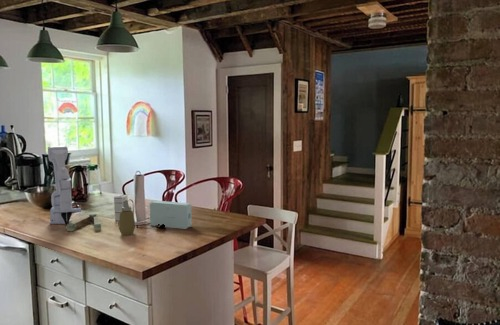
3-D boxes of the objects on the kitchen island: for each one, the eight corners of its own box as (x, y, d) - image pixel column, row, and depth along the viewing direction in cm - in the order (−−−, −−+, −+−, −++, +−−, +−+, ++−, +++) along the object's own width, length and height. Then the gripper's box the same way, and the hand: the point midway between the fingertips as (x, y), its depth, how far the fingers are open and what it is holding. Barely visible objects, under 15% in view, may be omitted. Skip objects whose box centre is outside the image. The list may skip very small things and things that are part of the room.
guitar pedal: (149, 225, 224) (148, 202, 222) (155, 223, 229) (154, 200, 228) (186, 229, 216) (186, 205, 215) (191, 226, 222) (191, 203, 220)
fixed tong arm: (89, 221, 233) (89, 214, 232) (99, 220, 235) (99, 213, 235) (89, 231, 212) (89, 224, 212) (101, 230, 214) (100, 222, 214)
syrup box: (123, 221, 233) (122, 196, 231) (114, 220, 234) (113, 196, 233) (128, 218, 239) (127, 194, 237) (119, 218, 240) (118, 194, 238)
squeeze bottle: (126, 237, 202) (125, 202, 200) (115, 234, 206) (114, 200, 204) (138, 233, 209) (137, 199, 207) (128, 231, 213) (126, 198, 211)
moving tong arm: (84, 222, 230) (84, 216, 229) (90, 222, 229) (89, 216, 229) (66, 231, 212) (66, 224, 212) (72, 231, 212) (72, 224, 211)
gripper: (50, 204, 209) (51, 229, 211) (80, 201, 215) (81, 226, 217) (51, 201, 216) (52, 225, 217) (80, 199, 221) (81, 223, 223)
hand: (67, 225), depth 217 cm, fingers closed
